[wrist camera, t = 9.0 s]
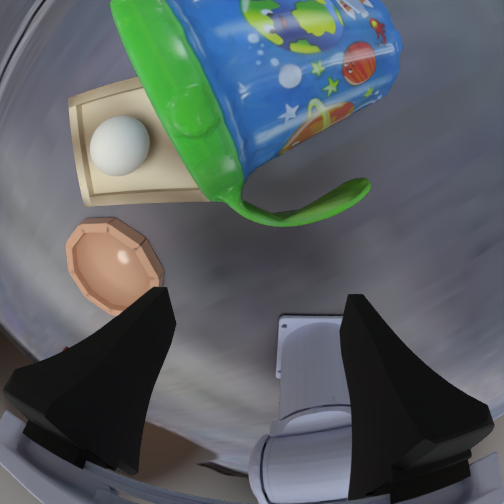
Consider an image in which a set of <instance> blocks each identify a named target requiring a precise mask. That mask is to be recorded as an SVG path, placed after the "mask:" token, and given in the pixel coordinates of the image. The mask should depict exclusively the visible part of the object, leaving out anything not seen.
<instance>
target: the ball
mask: <svg viewBox="0 0 504 504" xmlns="http://www.w3.org/2000/svg"><path fill="white" fill-rule="evenodd" d="M149 146H150V139H149V135H148V132H147V130H146V128H145V126H144V125H143V124H142V123H141V122H140V121H139V120H137V119H136V118H134V117H131V116H126V115H119V116H114V117H111V118H109V119H107V120H105V121H104V122H103V123H101V124H100V125H99V126H98V128H97V129H96V130H95V132H94V134H93V136H92V139H91V142H90V155H91V158H92V161H93V163H94V165H95V166H96V167H97V168H98V169H99V170H100V171H101V172H103V173H105V174H107V175H110V176H124V175H127V174H130V173H132V172H133V171H135V170H136V169H138V168H139V167H140V166H141V165H142V163H143V162H144V160H145V159H146V157H147V155H148V151H149Z"/></svg>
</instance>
